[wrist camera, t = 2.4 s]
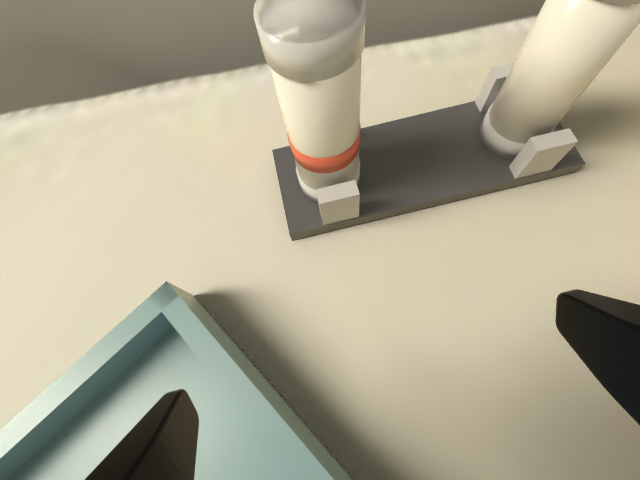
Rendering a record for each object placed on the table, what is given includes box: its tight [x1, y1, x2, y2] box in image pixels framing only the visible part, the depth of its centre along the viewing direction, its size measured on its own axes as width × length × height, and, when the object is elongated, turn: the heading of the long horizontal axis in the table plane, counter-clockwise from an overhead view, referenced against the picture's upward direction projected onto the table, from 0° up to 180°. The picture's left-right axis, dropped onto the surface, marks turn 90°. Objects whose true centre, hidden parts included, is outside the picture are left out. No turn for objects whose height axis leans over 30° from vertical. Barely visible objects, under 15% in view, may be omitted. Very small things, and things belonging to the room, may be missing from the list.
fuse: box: [479, 0, 640, 160], centre depth 18 cm, size 4×4×12 cm
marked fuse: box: [254, 0, 365, 204], centre depth 18 cm, size 4×4×12 cm
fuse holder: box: [272, 62, 585, 241], centre depth 23 cm, size 7×20×4 cm, turn 103°
